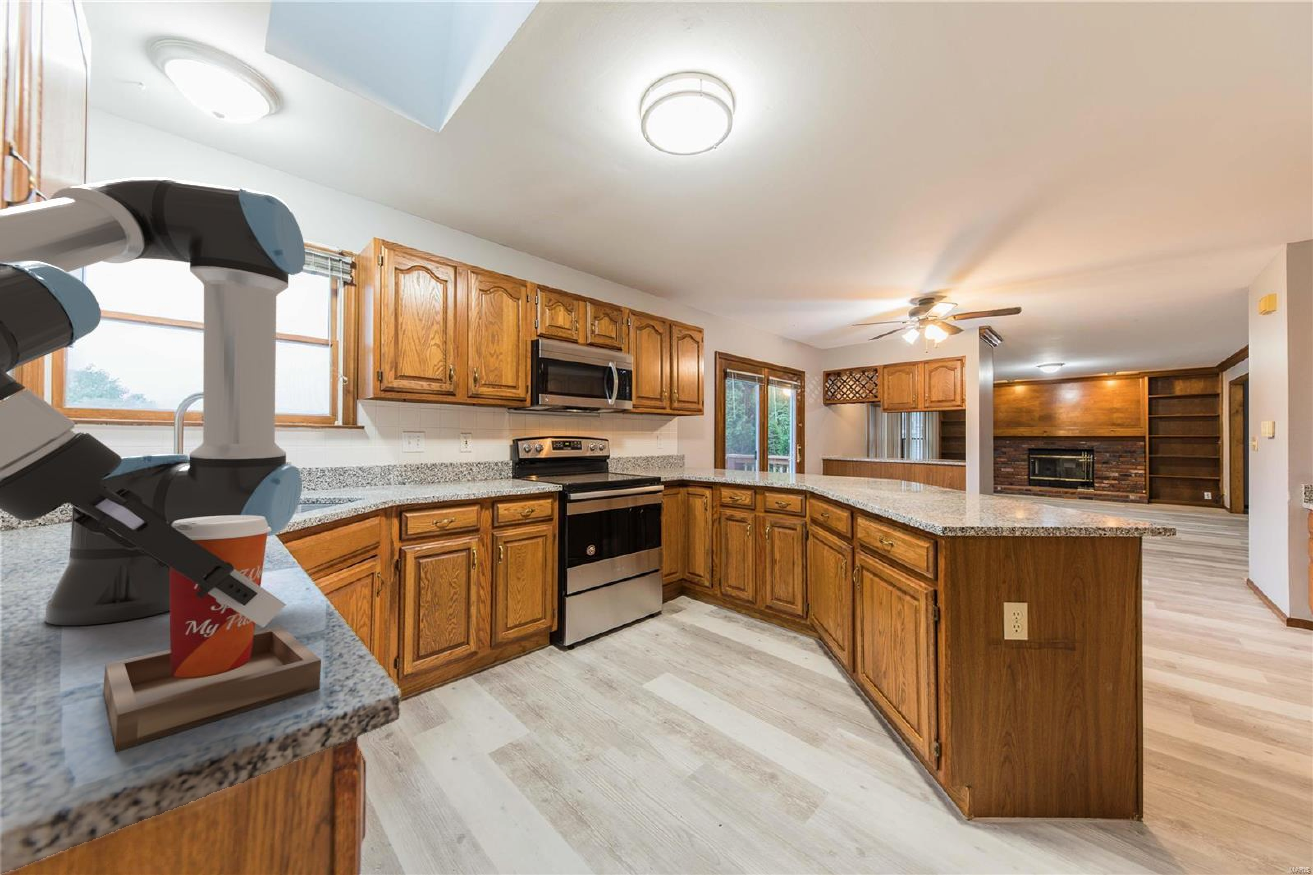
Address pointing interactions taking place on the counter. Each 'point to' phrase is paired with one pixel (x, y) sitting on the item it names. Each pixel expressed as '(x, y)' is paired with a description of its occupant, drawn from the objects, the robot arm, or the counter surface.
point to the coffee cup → (207, 626)
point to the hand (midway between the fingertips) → (257, 606)
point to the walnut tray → (203, 689)
